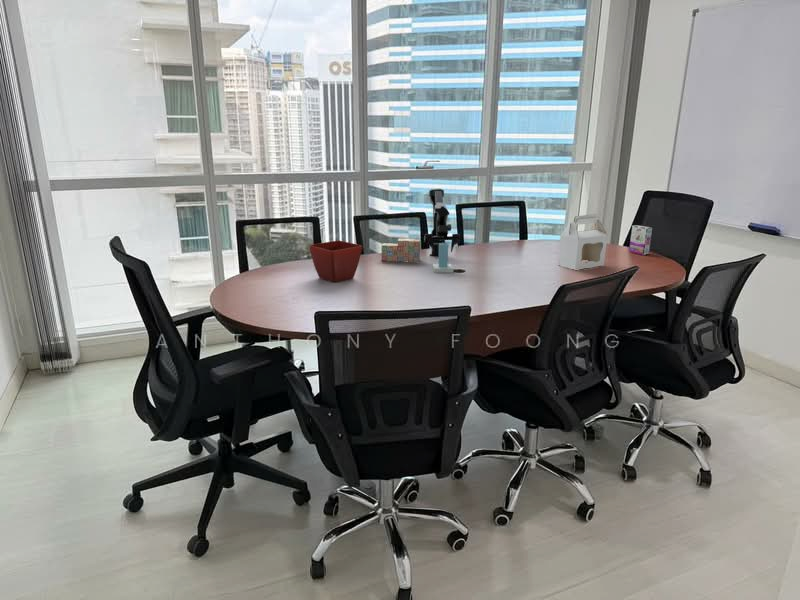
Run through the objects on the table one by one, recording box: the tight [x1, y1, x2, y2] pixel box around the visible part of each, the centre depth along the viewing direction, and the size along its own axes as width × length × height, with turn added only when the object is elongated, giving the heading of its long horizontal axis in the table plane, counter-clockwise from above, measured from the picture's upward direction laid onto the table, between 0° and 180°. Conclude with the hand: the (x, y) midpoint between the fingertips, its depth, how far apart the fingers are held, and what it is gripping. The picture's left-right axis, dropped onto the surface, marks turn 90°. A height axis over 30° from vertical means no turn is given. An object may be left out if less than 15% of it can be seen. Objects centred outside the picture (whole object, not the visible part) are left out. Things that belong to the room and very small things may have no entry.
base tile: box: [432, 263, 454, 273], centre depth 304 cm, size 10×10×2 cm
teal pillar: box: [437, 242, 449, 267], centre depth 302 cm, size 4×4×12 cm
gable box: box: [557, 213, 608, 270], centre depth 311 cm, size 22×13×28 cm, turn 119°
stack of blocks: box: [381, 238, 421, 263], centre depth 322 cm, size 21×6×12 cm, turn 84°
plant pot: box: [309, 240, 363, 283], centre depth 285 cm, size 19×19×17 cm
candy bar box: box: [628, 224, 653, 256], centre depth 343 cm, size 11×5×16 cm, turn 28°
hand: (442, 252), depth 303 cm, fingers open, 9 cm apart
